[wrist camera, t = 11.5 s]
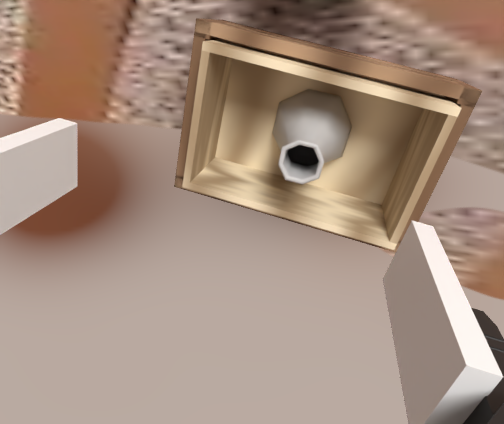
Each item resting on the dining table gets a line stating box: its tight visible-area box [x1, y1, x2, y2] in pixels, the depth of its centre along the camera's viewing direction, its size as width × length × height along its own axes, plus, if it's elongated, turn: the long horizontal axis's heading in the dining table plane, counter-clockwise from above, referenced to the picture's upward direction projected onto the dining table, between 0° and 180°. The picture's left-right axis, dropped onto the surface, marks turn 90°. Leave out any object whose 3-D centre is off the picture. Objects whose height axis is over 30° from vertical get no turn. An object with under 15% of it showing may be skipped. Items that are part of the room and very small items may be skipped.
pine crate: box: [182, 39, 462, 250], centre depth 32 cm, size 18×12×8 cm, turn 77°
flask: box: [272, 89, 352, 185], centre depth 31 cm, size 7×7×10 cm
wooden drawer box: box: [174, 18, 482, 252], centre depth 34 cm, size 21×14×7 cm, turn 77°
